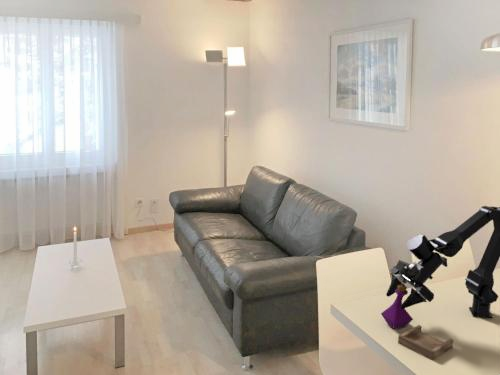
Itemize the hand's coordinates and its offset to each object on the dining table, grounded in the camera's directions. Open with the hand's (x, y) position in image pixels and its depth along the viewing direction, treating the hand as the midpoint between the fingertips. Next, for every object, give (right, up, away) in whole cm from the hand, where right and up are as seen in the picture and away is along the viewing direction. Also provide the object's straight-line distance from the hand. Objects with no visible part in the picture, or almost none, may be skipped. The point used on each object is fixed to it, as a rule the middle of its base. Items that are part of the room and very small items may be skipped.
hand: (394, 301), depth 162 cm
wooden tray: (+7, -11, -10) cm, 16 cm away
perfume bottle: (+1, -9, +2) cm, 9 cm away
